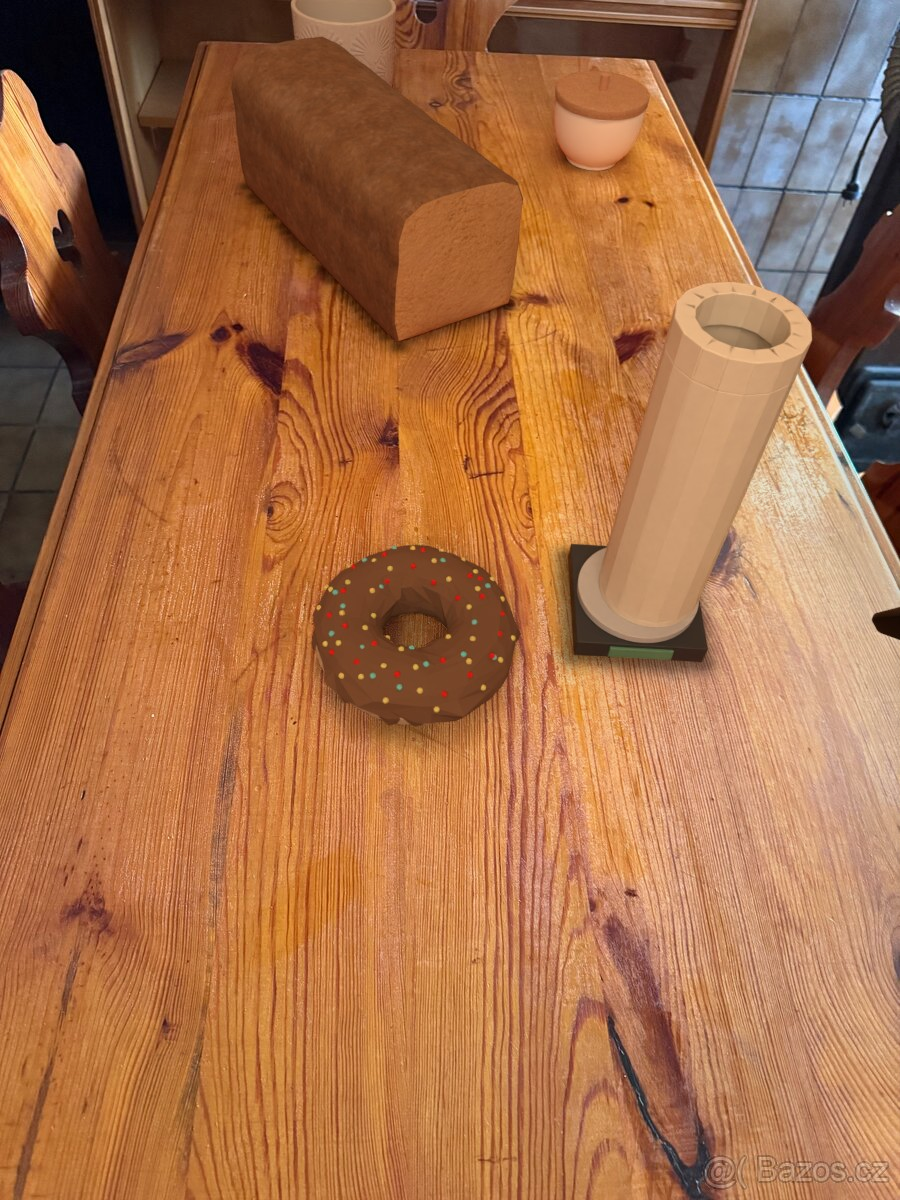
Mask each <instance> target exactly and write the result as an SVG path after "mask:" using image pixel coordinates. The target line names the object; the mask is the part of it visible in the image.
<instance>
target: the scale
mask: <svg viewBox="0 0 900 1200" xmlns="http://www.w3.org/2000/svg"><path fill="white" fill-rule="evenodd" d="M606 549H607V545H599V544H598V545H596V544H580V543H571V544H570V546H569V551H568V556H567V564H568V566H567V567H568V568H567V569H568V583H569V585H568V586H569V597H570V598H569V599H570V600H569V601H570V613H571V614H570V616H571V632H572V633H571V634H572V635H571V636H572V649H573V650H572V651H573V655H574V656H589V657H603V658H604V657H605V658H620V659H621V658H623V659H624V658H626V659H641V660H658V661H671V662H672V661H675V662H676V661H677V662H690V663H691V662H693V663H703V661H704V659H705V657H706V654H707V652H708V650H709V648H708V641H707V635H706V629H705V624H704V619H703V612H702V607H701V601H700V600H699V601H698V602H697V604H696V606H695V608H694V610H693V612H692V613H691V614H690V615H689V616H688V617H687V618H686V619H684V620H683V621H681V622H679V623H677V624H675V625H671V626H667V627H646V626H641V625H637V624H635V623H632V622H630V621H627V620H625V619H624V618H622V617H620V616H619V615H618V614H616V613H615V612H614V611H613V610H612V609H611V608H610V607H609V606H608V605H607V604H606V602H605V600H604V599H603V597H602V595H601V592H600V588H599V576H600V572H601V567H602V563H603V559H604V556H605V552H606Z"/></svg>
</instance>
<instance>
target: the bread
mask: <svg viewBox="0 0 900 1200" xmlns="http://www.w3.org/2000/svg"><path fill="white" fill-rule="evenodd" d="M230 88H231V95H232V100H233V105H234V115H235V127H236V128H235V129H236V136H237V137H236V138H237V144H238V151H239V152H238V153H239V158H240V166H241V170H242V171H241V172H242V176H243V179H244V182H245V184H246V186H247V187H248V188H249V189H250V190H251V192H253V193H254V195H255V196H256V197H257V198H258V199H259V200H260V201H261V202H262V203H263V204H264V205H265V207H266V208H268V210H269V211H271V212H272V213H273V215H275V217H276V218H277V219H278V220H279V221H280V222H281V223H282V224H283V225H284V226H285V227H286V228H287V230H289V232H290V233H291V234H292V235H293V236H294V237H295V238H296V240H298V241H299V242H300V244H301V245H302V246H303V247H304V248H305V249H306V250H307V251H308V252H309V253H310V254H312V256H313V257H314V258H315V259H316V260H317V261H318V262H319V263H320V264H321V266H322V268H324V269H325V270H326V271H327V272H328V273H329V275H330V276H332V278H334V279H335V281H336V282H337V283H338V284H339V285H340V286H341V287H342V288H343V289H344V290H345V291H346V292H347V293H348V294H349V295H350V296H351V297H352V298H353V299H354V300H355V301H356V302H357V303H358V304H359V305H360V306H361V308H363V309H364V311H365V312H366V313H367V314H368V315H369V316H370V318H372V319H373V321H375V323H376V324H378V326H379V327H381V329H382V330H383V331H384V332H385V333H386V334H388V335H389V336H390V337H391V338H392V339H393V340H394V341H395V342H401V341H403V340H408V339H411V338H414V337H417V336H420V335H423V334H425V333H428V332H432V331H434V330H437V329H440V328H442V327H446V326H449V325H452V324H454V323H457V322H461V321H464V320H467V319H469V318H473V317H475V316H478V315H482V314H484V313H487V312H490V311H492V310H495V309H498V308H500V307H504V306H506V305H508V304H509V303H510V298H511V294H512V292H513V288H514V281H515V273H516V267H517V266H516V265H517V257H518V250H519V243H520V241H519V240H520V230H521V219H522V211H523V206H524V205H523V204H524V196H523V194H522V191H521V187H520V184H519V181H517V180H516V179H515V178H514V177H513V176H511V175H510V174H508V173H507V172H505V171H504V170H503V169H501V168H500V167H498V166H497V165H495V164H494V163H493V162H492V161H490V160H489V159H487V158H486V157H485V156H484V155H483V154H481V153H480V152H479V151H478V150H476V149H474V148H473V147H472V146H470V145H469V144H468V143H466V142H464V140H462V139H460V138H459V137H458V136H457V135H456V134H455V133H453V132H452V131H451V130H450V129H448V128H446V127H445V126H444V125H442V124H441V123H439V122H437V121H436V120H435V119H434V118H432V116H430V115H429V114H428V113H427V112H426V111H424V110H423V109H422V108H421V107H420V106H418V105H417V104H415V103H414V102H413V101H411V100H410V99H409V98H407V97H405V96H404V95H403V94H401V92H399V91H398V90H396V89H395V88H394V87H393V86H392V87H391V86H390V85H389V84H388V83H387V82H385V81H384V80H383V79H382V78H381V77H379V76H378V75H377V74H376V73H375V72H373V71H372V70H371V69H370V68H368V67H367V66H366V65H364V64H363V63H362V62H360V61H359V60H358V59H357V58H355V57H354V56H353V55H352V54H351V53H349V52H348V51H347V50H346V49H345V48H343V47H342V46H340V45H339V44H338V43H335V42H333V41H331V40H329V39H326V38H324V37H314V38H305V39H298V40H295V39H291V40H285V41H281V42H277V43H272V44H268V45H263V46H260V47H256V48H254V49H250V50H247V51H244V52H243V54H242V55H241V56H240V58H239V59H238V60H237V62H236V63H235V64H234V66H232V77H231V87H230Z"/></svg>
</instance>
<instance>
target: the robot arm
mask: <svg viewBox="0 0 900 1200" xmlns="http://www.w3.org/2000/svg"><path fill="white" fill-rule="evenodd" d="M871 622H872V624H873V626H874V627H875V630H876V631H877V632H878V633H879V634H881V635H884V636H886V637H890V638H892V639H895V640H897V641H900V606H898V607H894V608H890V609H885V610H882V611H879V612H878V611H877V612H875V613H874V614H873V615H872V617H871Z"/></svg>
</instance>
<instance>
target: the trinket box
mask: <svg viewBox="0 0 900 1200" xmlns="http://www.w3.org/2000/svg"><path fill="white" fill-rule="evenodd" d="M650 98H651V96H650V93H649V91H648V88H646V86H645V85H644V84H643V83H642V82H639V81H637V80H636V79H635V78H632V77H629V76H627V75H623V74H620V73H617V72H611V71H605V70H584V71H583V70H582V71H577V72H571V73H569V74H566V75H564V76H563V77H562V78H560V79H559V80H558V82H557V83H556V85H555V90H554V106H553V129H554V130H553V131H554V135H555V139H556V142H557V144H558V147H559V148H560V150H561V151H562V153H563V154H564V155H565V158H566V160H567V161H568V163H569V164H571V165H572V166H574V167H576V168H579V169H582V170H587V171H592V172H593V171H594V172H595V171H596V172H597V171H599V172H600V171H606V170H609V169H612V168H613V167H614V166H615V165H616V164H617V163H618V162H619V161H621V160H622V159H623V158H625V157H626V156H627V154H628V153H630V151H632V149H633V147H634V145H635V144H636V142H637V140H638V137H639V136H640V133H641V131H642V127H643V124H644V120H645V116H646V111H647V109H648V107H649V101H650Z"/></svg>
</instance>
